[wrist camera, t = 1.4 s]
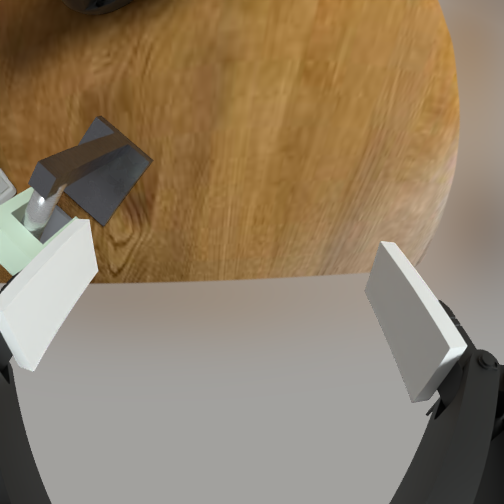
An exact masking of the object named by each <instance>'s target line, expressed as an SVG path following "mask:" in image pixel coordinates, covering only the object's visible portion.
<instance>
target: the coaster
mask: <svg viewBox="0 0 504 504" xmlns="http://www.w3.org/2000/svg"><path fill="white" fill-rule="evenodd" d="M71 220H72V218H71V217H69V216H68V215H67V214H66V213H65V212H64V211H63V210H62V209H61V208H59V207H58V206H57V205H56V206H55V208H54V210H53V212H52V214H51V216H50V219H49V221H48V223H47V225H46V227H45V229H44V232H43V234H42V236H41V238H40V242H41V243H42V244H44V243H45V242H46V241H48V240H49V239H50V238H51V237H52V236H53V235H54V234H55V233H57V232H58V231H59V230H60V229H61V228H63V227H64V226H65V225H66V224H67V223H68V222H70V221H71Z"/></svg>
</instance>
